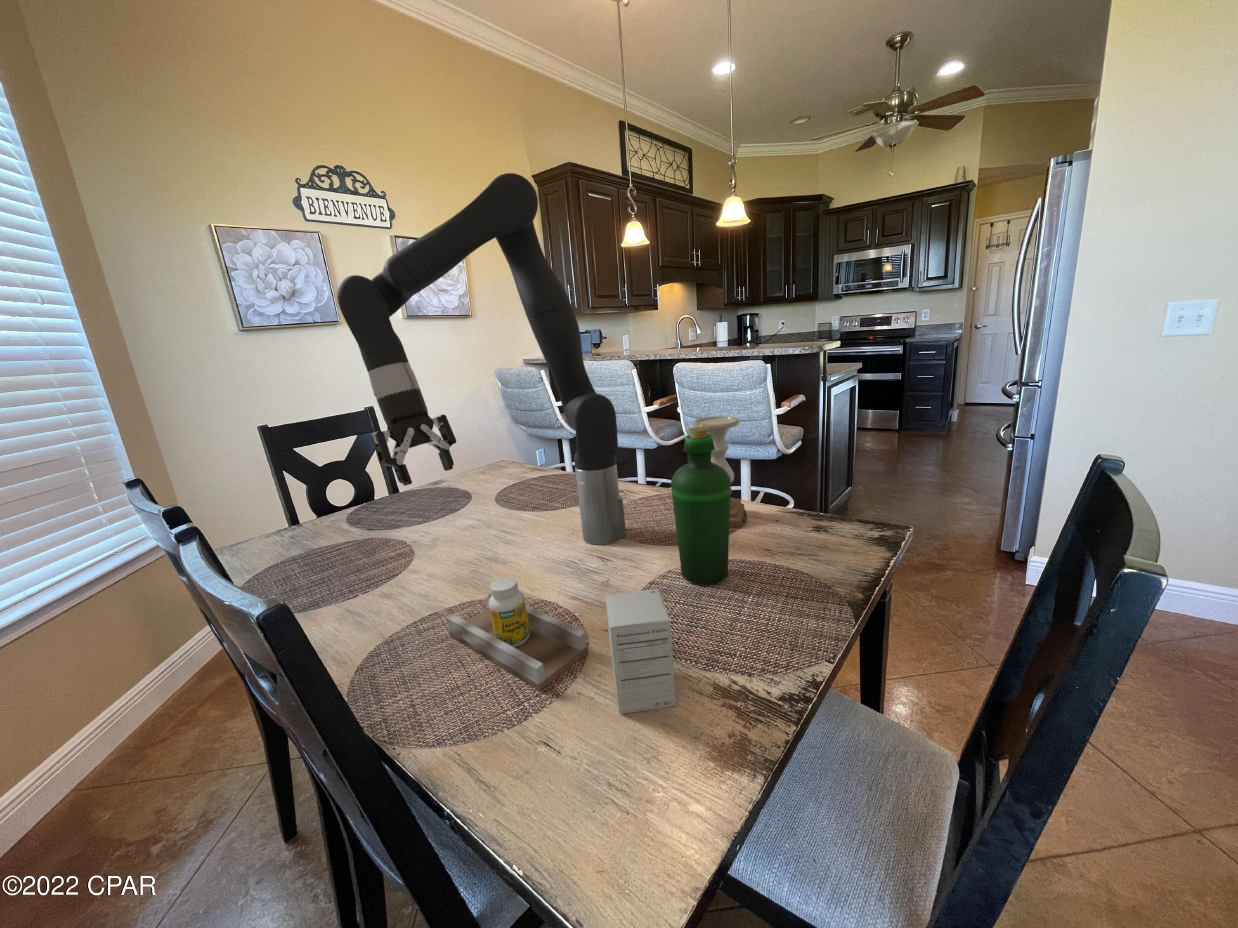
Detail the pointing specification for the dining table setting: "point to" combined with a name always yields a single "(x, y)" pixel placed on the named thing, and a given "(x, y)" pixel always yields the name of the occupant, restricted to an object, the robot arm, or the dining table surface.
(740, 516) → the candle holder
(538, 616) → the walnut track
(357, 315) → the robot arm
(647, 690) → the supplement box
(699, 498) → the bottle
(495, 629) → the supplement bottle
